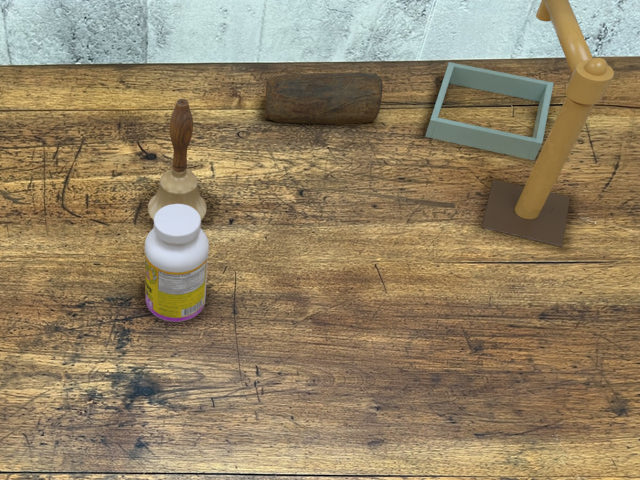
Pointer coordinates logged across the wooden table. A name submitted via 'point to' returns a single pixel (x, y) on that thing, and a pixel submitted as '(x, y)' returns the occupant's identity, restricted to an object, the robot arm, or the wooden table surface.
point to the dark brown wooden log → (324, 98)
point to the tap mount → (539, 186)
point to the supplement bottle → (176, 264)
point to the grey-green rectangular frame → (486, 136)
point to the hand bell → (179, 167)
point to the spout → (577, 54)
